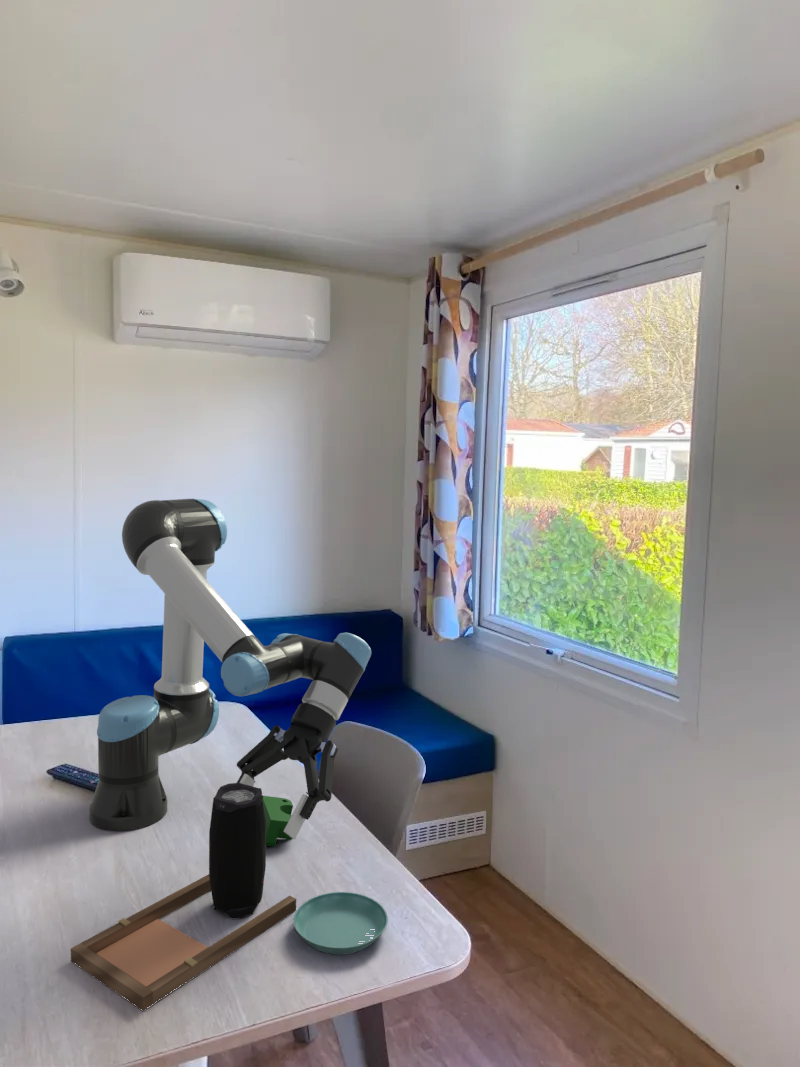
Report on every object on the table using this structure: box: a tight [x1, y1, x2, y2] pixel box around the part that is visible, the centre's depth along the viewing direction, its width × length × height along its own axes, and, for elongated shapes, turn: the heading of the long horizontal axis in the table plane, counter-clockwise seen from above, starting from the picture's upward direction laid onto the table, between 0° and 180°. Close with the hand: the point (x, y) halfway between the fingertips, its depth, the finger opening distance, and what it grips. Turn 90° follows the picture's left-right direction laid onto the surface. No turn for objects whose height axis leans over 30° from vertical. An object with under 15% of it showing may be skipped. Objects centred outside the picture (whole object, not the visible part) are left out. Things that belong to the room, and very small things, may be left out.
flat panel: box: [96, 918, 209, 987], centre depth 115 cm, size 14×11×1 cm
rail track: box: [70, 873, 297, 1012], centre depth 120 cm, size 17×30×2 cm, turn 145°
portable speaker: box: [208, 782, 267, 920], centre depth 127 cm, size 9×9×20 cm
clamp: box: [262, 795, 294, 847], centre depth 152 cm, size 12×6×9 cm, turn 13°
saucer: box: [293, 891, 389, 955], centre depth 121 cm, size 15×15×3 cm
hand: (258, 823), depth 128 cm, fingers open, 13 cm apart
